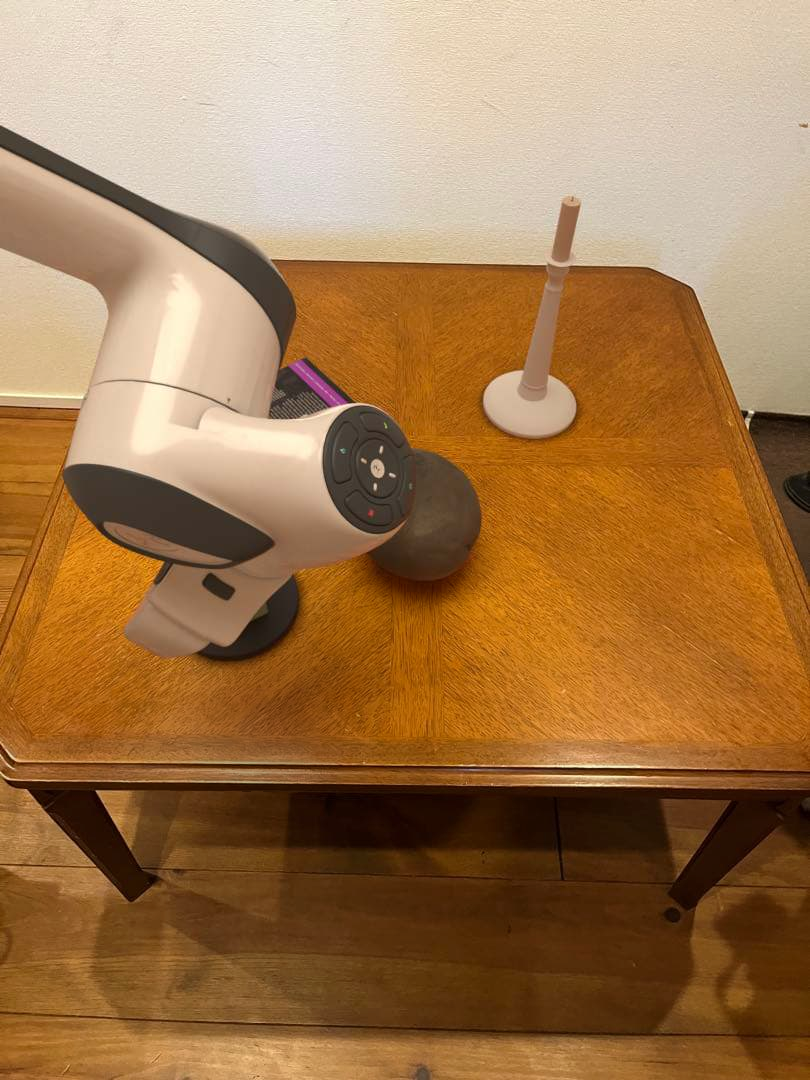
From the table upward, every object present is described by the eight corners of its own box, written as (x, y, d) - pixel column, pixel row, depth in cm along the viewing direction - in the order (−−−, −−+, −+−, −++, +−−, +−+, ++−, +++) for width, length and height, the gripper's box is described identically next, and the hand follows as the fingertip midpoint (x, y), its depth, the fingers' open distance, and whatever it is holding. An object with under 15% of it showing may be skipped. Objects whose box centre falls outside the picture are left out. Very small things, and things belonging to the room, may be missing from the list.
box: (308, 374, 106) (186, 432, 98) (306, 355, 103) (180, 412, 95) (366, 429, 99) (240, 495, 92) (366, 410, 96) (235, 476, 89)
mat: (232, 686, 77) (230, 681, 76) (146, 610, 82) (143, 605, 81) (325, 598, 83) (324, 592, 82) (239, 533, 88) (238, 527, 87)
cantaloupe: (447, 497, 92) (455, 409, 80) (493, 587, 84) (510, 506, 72) (339, 526, 89) (331, 440, 77) (376, 623, 81) (373, 544, 69)
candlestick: (470, 382, 105) (495, 173, 80) (554, 367, 107) (603, 159, 82) (501, 446, 97) (538, 238, 73) (590, 429, 99) (655, 221, 75)
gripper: (287, 382, 55) (218, 431, 66) (136, 618, 46) (85, 629, 57) (350, 435, 57) (273, 474, 69) (219, 668, 49) (155, 669, 60)
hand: (187, 546), depth 63 cm, fingers open, 8 cm apart
